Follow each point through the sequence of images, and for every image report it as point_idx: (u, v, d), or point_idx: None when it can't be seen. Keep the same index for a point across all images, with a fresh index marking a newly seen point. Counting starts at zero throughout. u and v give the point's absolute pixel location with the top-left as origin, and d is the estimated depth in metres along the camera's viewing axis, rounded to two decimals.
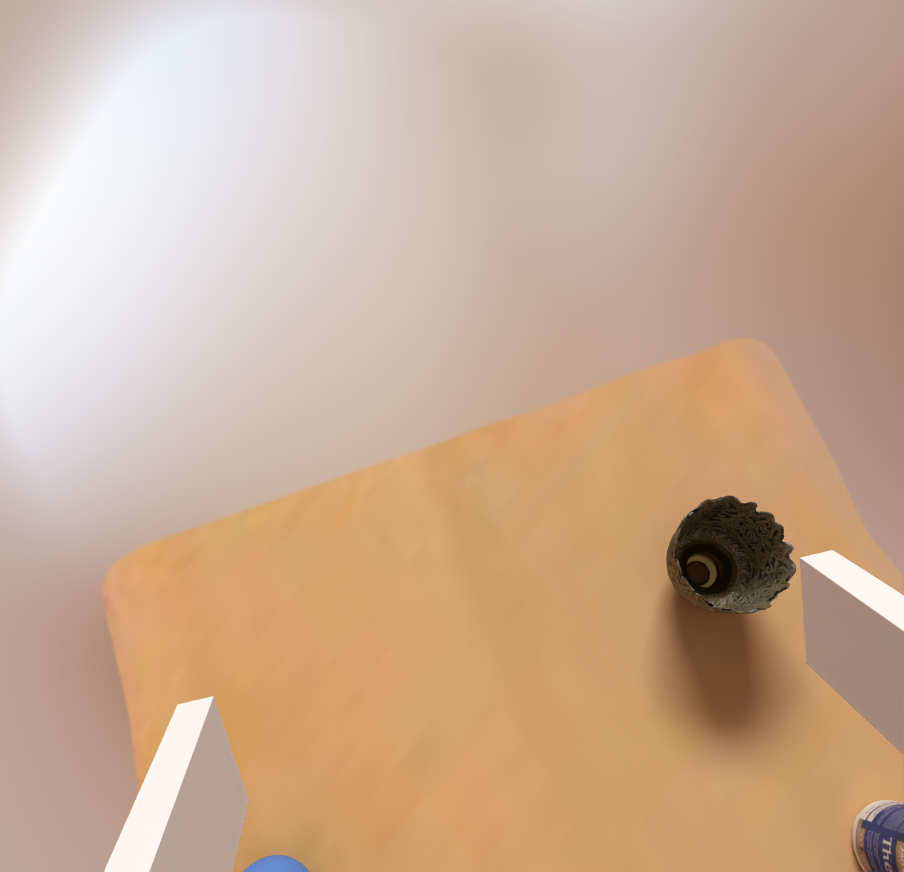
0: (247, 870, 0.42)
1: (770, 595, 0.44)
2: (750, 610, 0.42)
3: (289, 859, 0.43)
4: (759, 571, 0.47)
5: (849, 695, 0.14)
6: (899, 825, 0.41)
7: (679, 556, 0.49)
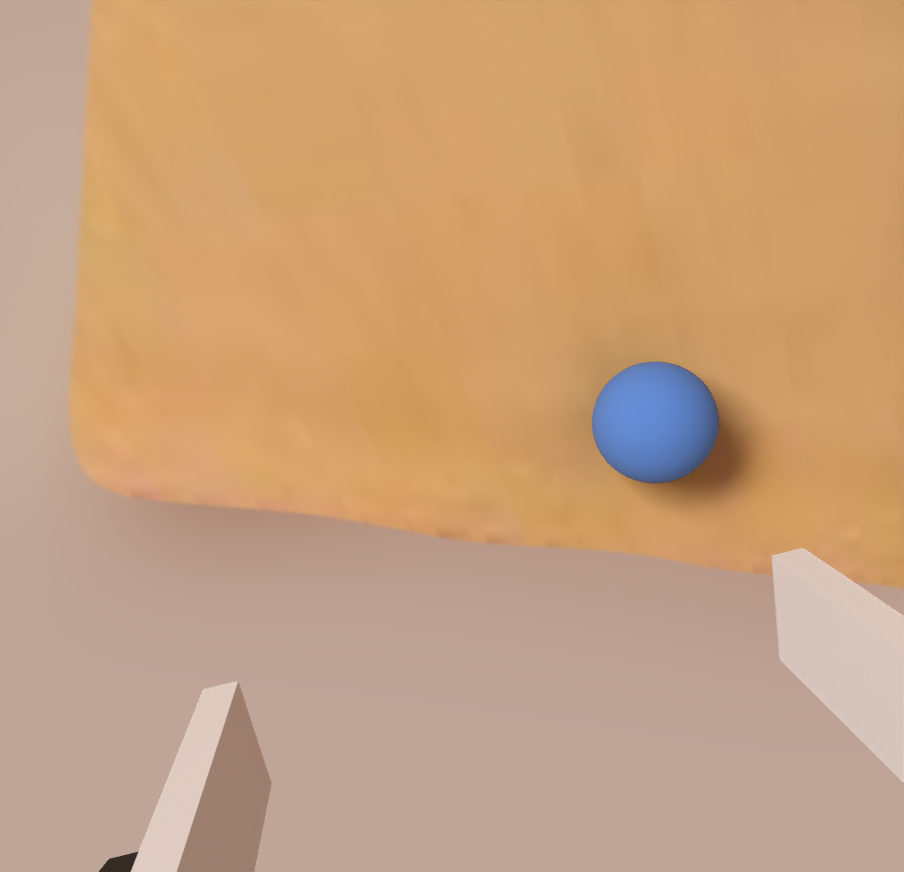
0: (603, 433, 0.30)
1: None
2: None
3: (619, 378, 0.30)
4: None
5: (818, 690, 0.14)
6: None
7: None
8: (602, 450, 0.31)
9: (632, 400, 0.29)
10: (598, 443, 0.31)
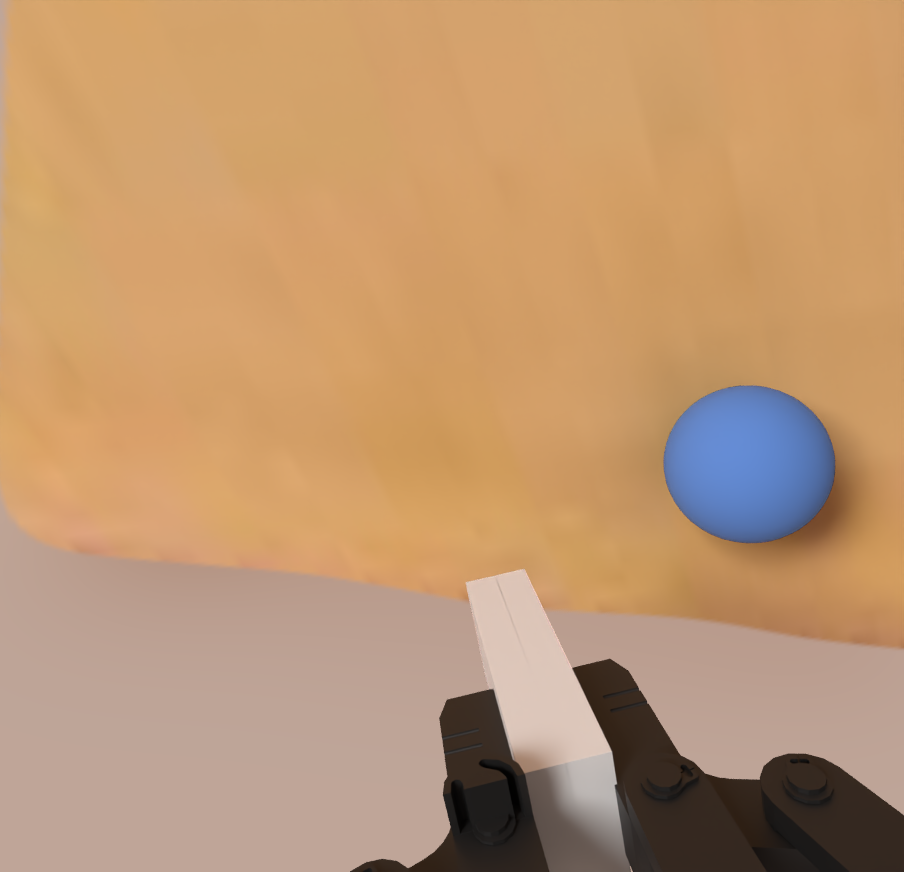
0: (683, 479, 0.23)
1: None
2: None
3: (704, 407, 0.23)
4: None
5: None
6: None
7: None
8: (679, 500, 0.24)
9: (726, 438, 0.22)
10: (674, 490, 0.24)
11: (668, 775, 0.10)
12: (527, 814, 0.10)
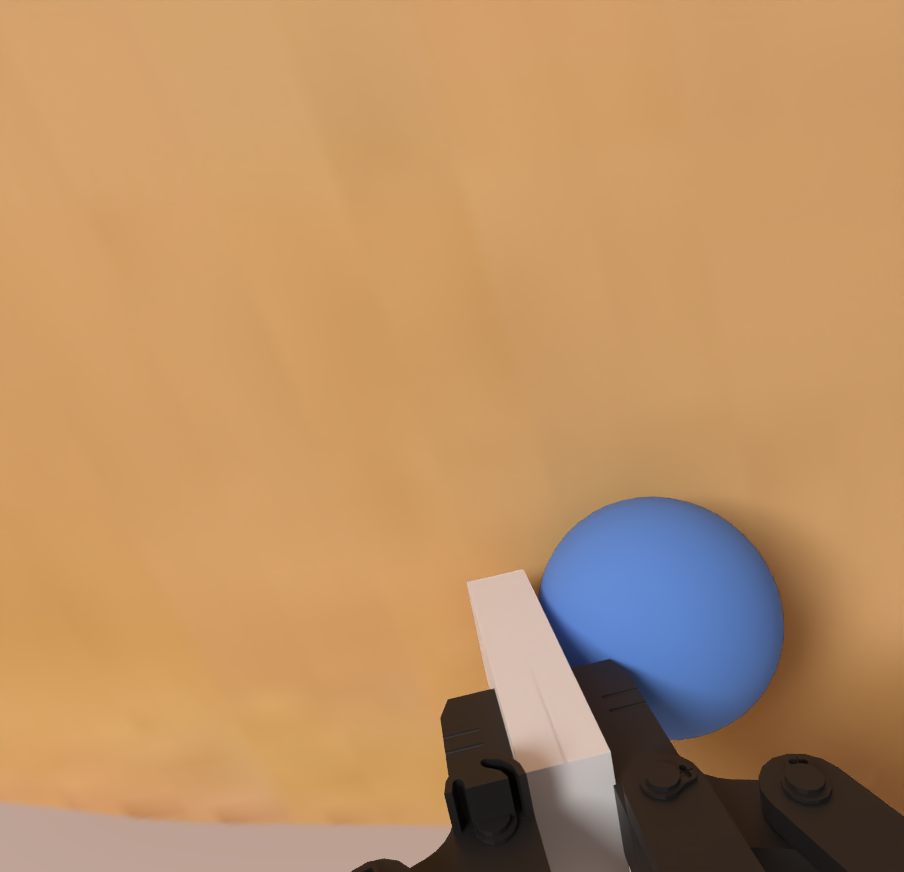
0: (665, 673, 0.14)
1: None
2: None
3: (634, 548, 0.14)
4: None
5: None
6: None
7: None
8: None
9: (711, 584, 0.14)
10: None
11: (667, 775, 0.10)
12: (528, 814, 0.10)
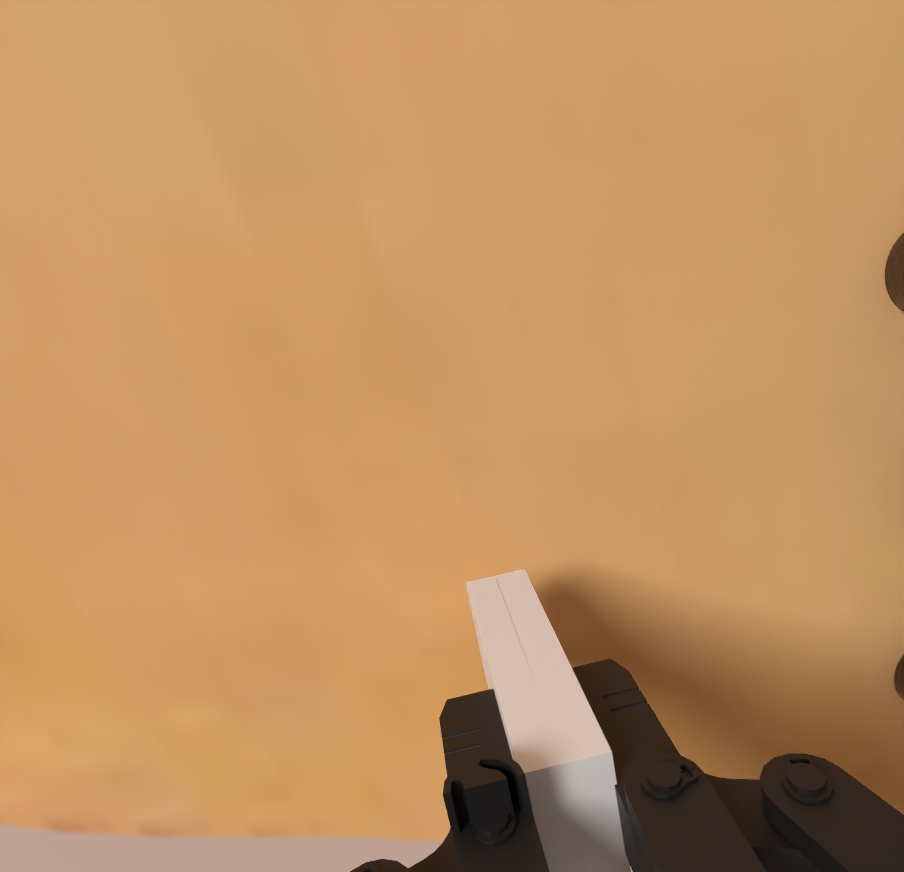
0: None
1: None
2: None
3: None
4: None
5: None
6: None
7: None
8: None
9: None
10: None
11: (668, 775, 0.10)
12: (527, 814, 0.10)
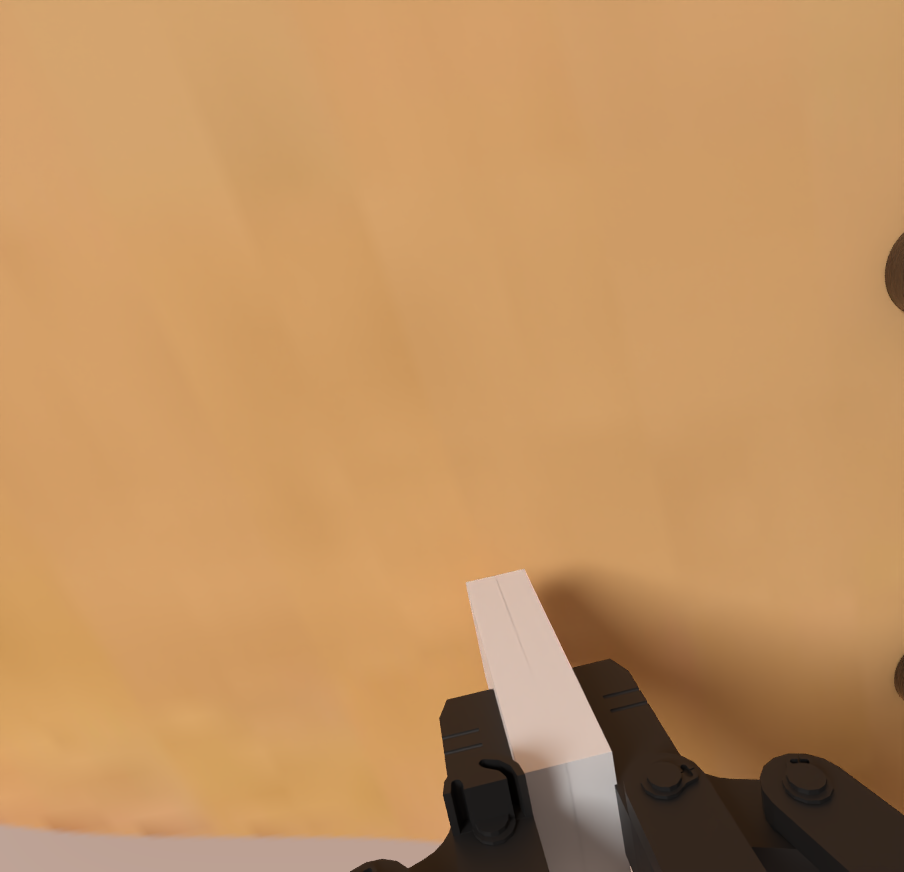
0: None
1: None
2: None
3: None
4: None
5: None
6: None
7: None
8: None
9: None
10: None
11: (668, 775, 0.10)
12: (527, 814, 0.10)
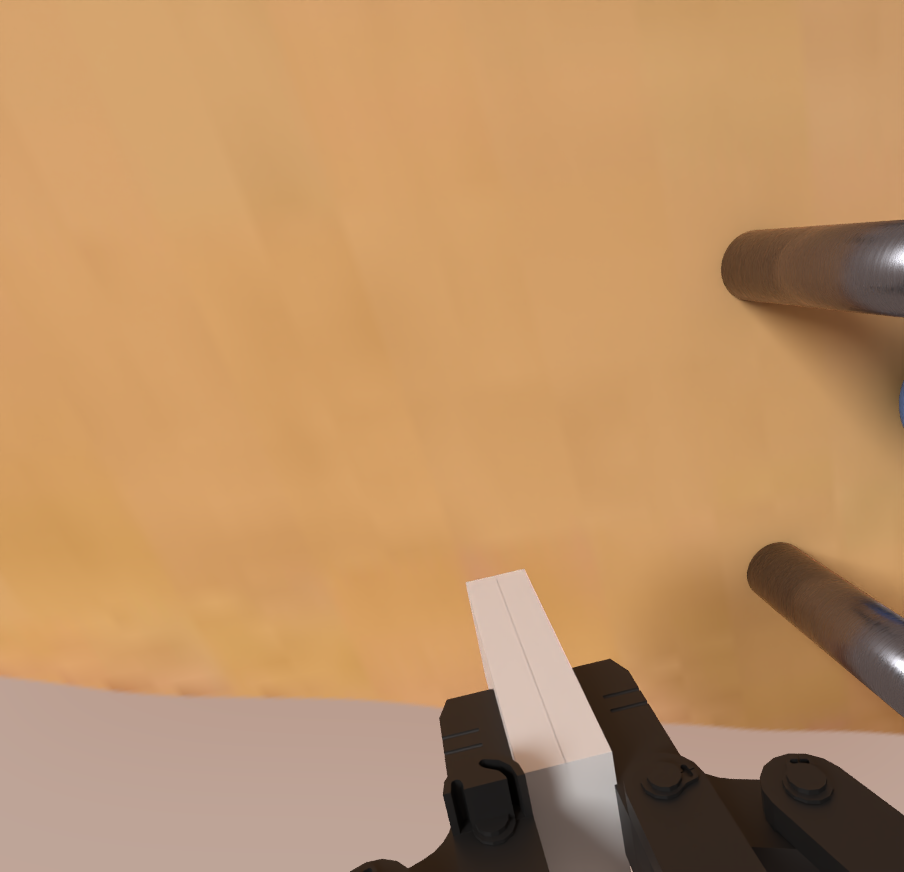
0: None
1: None
2: None
3: None
4: None
5: None
6: None
7: None
8: None
9: None
10: None
11: (668, 775, 0.10)
12: (527, 814, 0.10)
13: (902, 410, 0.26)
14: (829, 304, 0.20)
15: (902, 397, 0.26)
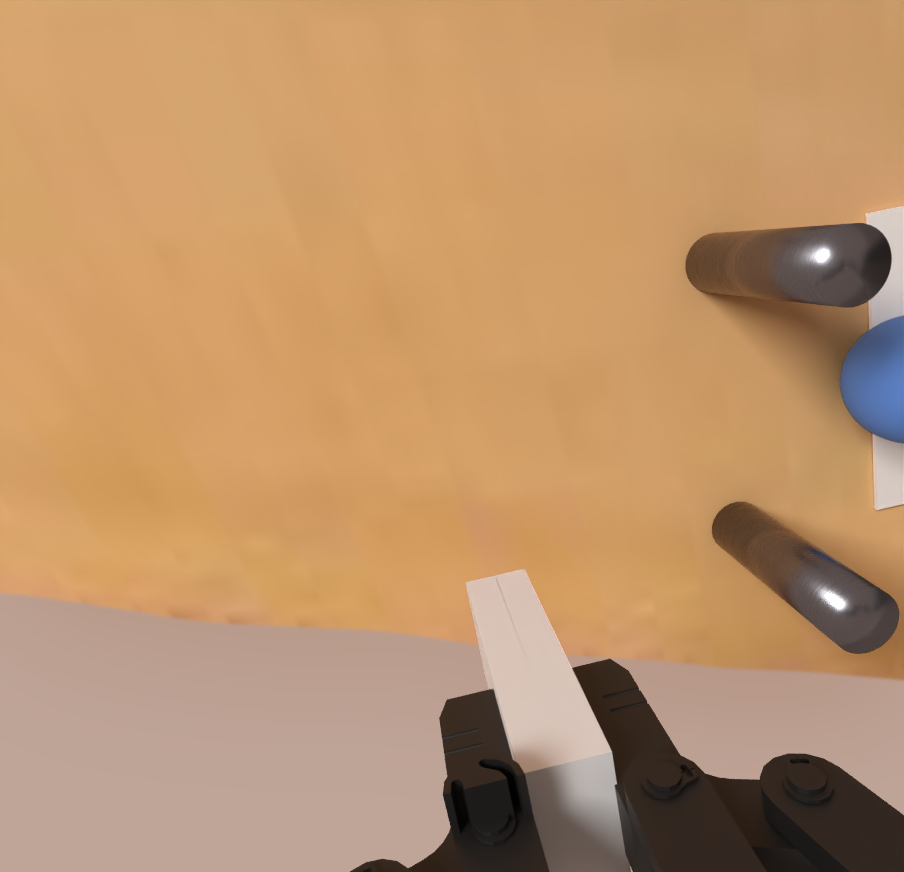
0: None
1: None
2: None
3: None
4: None
5: None
6: None
7: None
8: None
9: None
10: None
11: (668, 775, 0.10)
12: (527, 814, 0.10)
13: (841, 386, 0.30)
14: (763, 294, 0.25)
15: (841, 375, 0.30)
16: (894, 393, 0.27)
